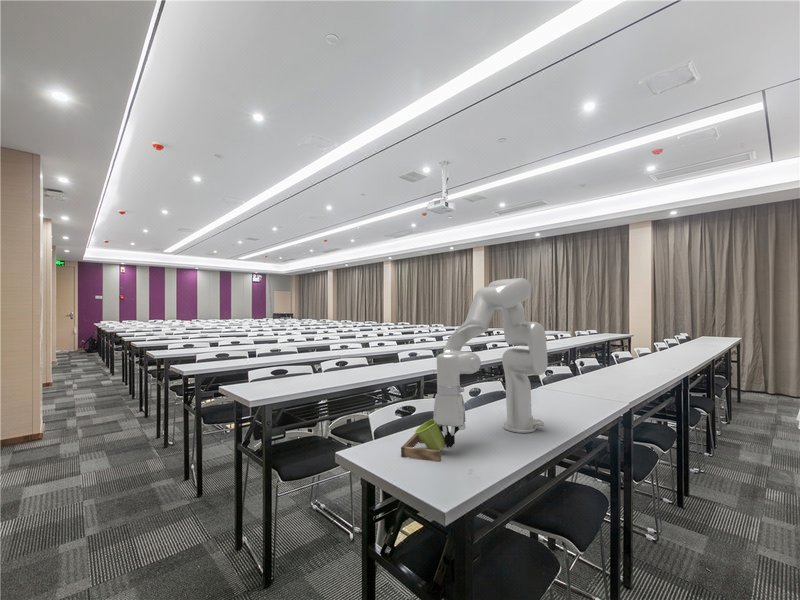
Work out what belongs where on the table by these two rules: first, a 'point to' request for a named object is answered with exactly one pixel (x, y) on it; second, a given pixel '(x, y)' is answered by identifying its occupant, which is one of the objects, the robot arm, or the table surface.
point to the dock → (419, 450)
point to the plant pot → (431, 435)
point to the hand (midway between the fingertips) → (449, 446)
